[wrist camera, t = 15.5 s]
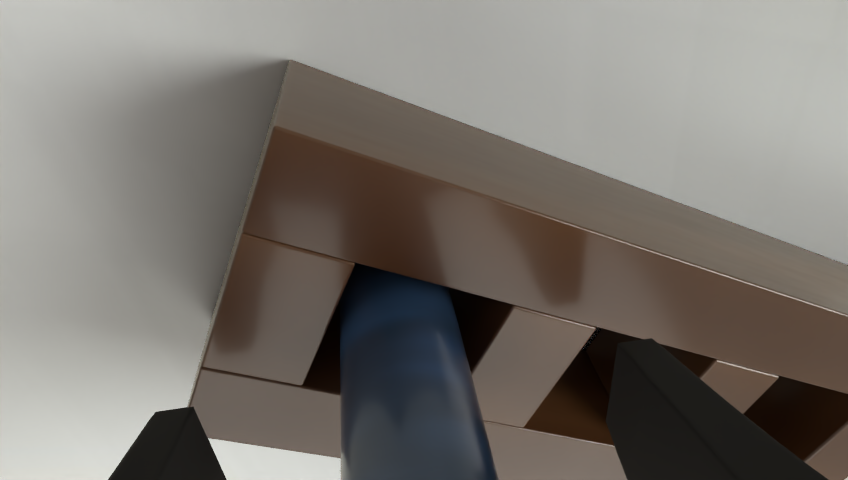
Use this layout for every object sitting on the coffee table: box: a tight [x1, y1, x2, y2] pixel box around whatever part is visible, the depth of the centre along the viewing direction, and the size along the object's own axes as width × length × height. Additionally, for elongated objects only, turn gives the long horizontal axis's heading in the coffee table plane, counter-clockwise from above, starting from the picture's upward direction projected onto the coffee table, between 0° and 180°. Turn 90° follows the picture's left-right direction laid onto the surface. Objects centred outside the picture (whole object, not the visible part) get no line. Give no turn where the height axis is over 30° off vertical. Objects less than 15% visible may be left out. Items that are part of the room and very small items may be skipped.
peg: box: [340, 263, 499, 480], centre depth 11 cm, size 2×2×8 cm
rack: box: [187, 60, 848, 480], centre depth 14 cm, size 7×18×4 cm, turn 67°
